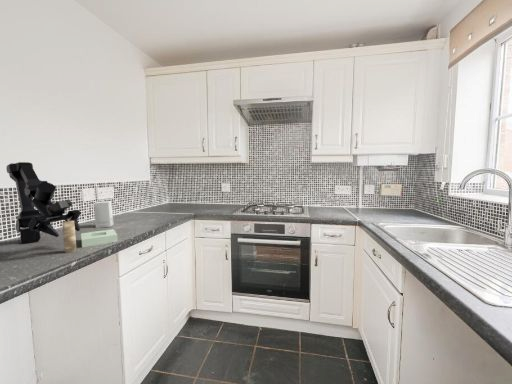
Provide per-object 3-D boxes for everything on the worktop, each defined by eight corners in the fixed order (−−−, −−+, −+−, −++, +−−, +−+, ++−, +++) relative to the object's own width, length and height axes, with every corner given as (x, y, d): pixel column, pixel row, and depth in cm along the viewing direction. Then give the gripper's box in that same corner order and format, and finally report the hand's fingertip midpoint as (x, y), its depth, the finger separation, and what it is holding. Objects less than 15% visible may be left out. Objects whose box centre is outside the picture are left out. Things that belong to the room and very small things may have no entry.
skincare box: (113, 224, 150) (112, 200, 149) (110, 227, 144) (108, 202, 143) (98, 225, 148) (97, 201, 147) (94, 228, 142) (93, 202, 140)
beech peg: (64, 253, 98) (62, 223, 97) (64, 250, 101) (62, 221, 100) (76, 251, 100) (74, 221, 99) (76, 248, 104) (74, 220, 102)
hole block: (82, 247, 106) (81, 239, 105) (81, 240, 117) (81, 233, 116) (117, 241, 114) (117, 234, 114) (114, 235, 125) (113, 229, 125)
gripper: (30, 196, 91) (56, 225, 89) (76, 192, 109) (98, 216, 108) (17, 216, 93) (41, 244, 92) (64, 208, 111) (85, 232, 110)
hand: (69, 233), depth 100 cm, fingers open, 9 cm apart
